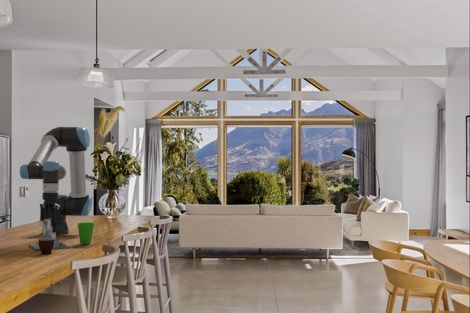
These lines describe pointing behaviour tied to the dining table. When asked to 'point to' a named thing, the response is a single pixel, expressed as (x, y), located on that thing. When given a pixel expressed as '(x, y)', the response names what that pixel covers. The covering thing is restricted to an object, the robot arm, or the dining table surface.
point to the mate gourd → (46, 243)
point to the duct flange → (56, 246)
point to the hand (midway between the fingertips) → (49, 238)
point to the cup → (85, 232)
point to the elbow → (43, 223)
